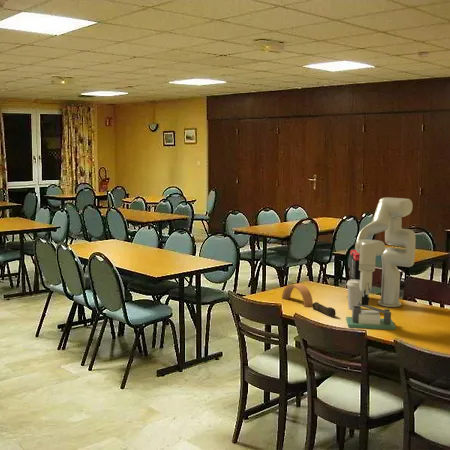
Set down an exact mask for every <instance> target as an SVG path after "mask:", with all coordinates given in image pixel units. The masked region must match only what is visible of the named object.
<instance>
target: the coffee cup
mask: <svg viewBox="0 0 450 450" xmlns="http://www.w3.org/2000/svg"><path fill="white" fill-rule="evenodd" d="M359 285H360V280H350V279H348V280H347V282H346V287H347V289H346V290H347V303H348V304H347V306H348V309H349V310H351V311H352V306H358V305H357V302H358V301H359V300H360V303H362V291H361V290H360V288H359ZM360 309H361V310H362V306H360Z"/></svg>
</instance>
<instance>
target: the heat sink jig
mask: <svg viewBox="0 0 450 450" xmlns="http://www.w3.org/2000/svg"><path fill="white" fill-rule="evenodd" d="M383 310H386V311H388V312H386V314H385V313H383V318H381V314H380V312H379V311H375V310H372V309H368V310H367V309H362V308H361V309H360V306H352V310H351V316H346V317H345V318H346V319H345V321H346V323H347V328H352V329H354V328H355V329H372V330H375V329H376V330H389V331H391V330H394V331H396V328H397V327H396V325H395V323H394V321H393V319H392V312H391V310H390V309H386V308H385V309H383Z"/></svg>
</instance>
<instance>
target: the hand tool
mask: <svg viewBox="0 0 450 450" xmlns="http://www.w3.org/2000/svg"><path fill="white" fill-rule="evenodd" d="M311 307H312V310H316V311H318V312H320V313H323V314H325V315H326V316H327V317H329V318H333V319H335V318H336V314H337V313H336V309H335V308H333V307H327V306H325V305H323V304H320V303H319V302H318V301H317V302H313V304H312V306H311Z"/></svg>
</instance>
